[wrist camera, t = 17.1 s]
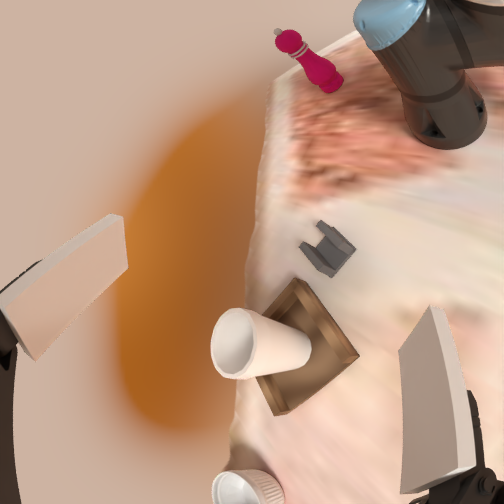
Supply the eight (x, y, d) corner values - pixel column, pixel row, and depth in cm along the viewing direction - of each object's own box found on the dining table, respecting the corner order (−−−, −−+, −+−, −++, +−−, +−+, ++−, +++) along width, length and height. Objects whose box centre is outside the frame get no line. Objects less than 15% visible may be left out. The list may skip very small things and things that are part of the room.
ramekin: (235, 463, 43) (206, 468, 39) (285, 463, 36) (254, 473, 32) (245, 516, 35) (217, 525, 31) (296, 524, 28) (267, 538, 24)
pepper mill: (339, 93, 53) (278, 34, 41) (317, 96, 59) (258, 44, 47) (348, 73, 53) (292, 15, 41) (326, 76, 59) (271, 25, 46)
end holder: (250, 342, 51) (238, 340, 49) (306, 281, 46) (294, 277, 44) (286, 414, 40) (274, 416, 38) (359, 356, 35) (350, 356, 33)
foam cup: (295, 389, 40) (230, 393, 32) (265, 353, 47) (203, 346, 39) (330, 343, 38) (269, 336, 30) (294, 310, 45) (233, 294, 37)
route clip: (312, 255, 47) (297, 248, 44) (334, 228, 45) (321, 218, 43) (331, 278, 43) (317, 271, 40) (356, 249, 41) (343, 240, 38)
